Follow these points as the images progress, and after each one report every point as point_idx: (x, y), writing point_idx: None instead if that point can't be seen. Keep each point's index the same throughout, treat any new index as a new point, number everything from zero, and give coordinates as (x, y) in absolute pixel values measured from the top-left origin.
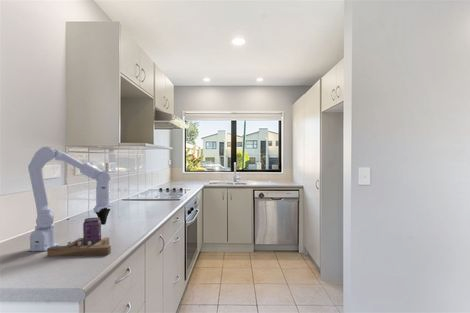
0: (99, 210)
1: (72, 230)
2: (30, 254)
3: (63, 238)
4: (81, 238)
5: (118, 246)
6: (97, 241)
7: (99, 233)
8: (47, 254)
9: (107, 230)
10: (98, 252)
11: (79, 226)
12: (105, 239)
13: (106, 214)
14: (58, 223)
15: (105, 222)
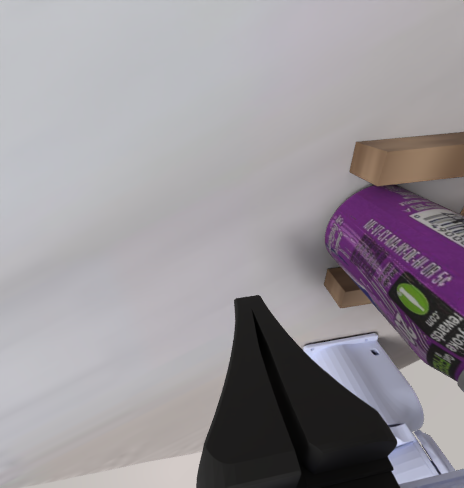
0: (445, 481)
1: (111, 411)
2: (392, 345)
3: (226, 374)
4: (352, 297)
5: (437, 28)
6: (420, 196)
7: (452, 213)
8: None
9: (46, 309)
10: None
11: (42, 427)
12: (434, 152)
13: (293, 381)
14: (40, 477)
15: (249, 306)
